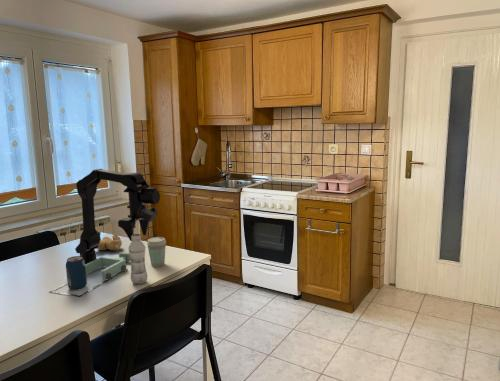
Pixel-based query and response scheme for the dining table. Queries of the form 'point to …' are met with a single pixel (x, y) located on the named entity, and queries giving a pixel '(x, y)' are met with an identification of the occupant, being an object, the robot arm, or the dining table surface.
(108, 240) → the ginger root
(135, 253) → the plastic bottle
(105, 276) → the cart
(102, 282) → the rails
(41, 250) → the dining table surface
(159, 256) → the coffee cup
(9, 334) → the dining table surface
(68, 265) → the soda can
